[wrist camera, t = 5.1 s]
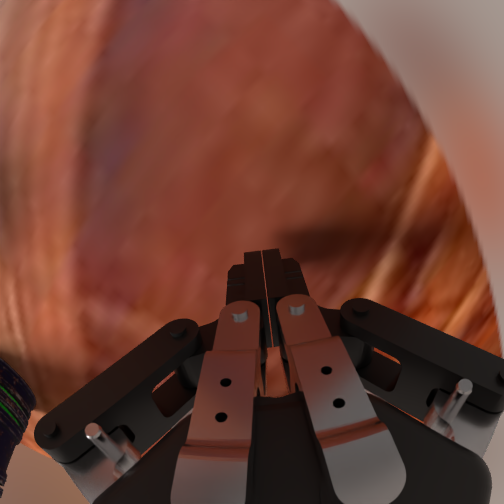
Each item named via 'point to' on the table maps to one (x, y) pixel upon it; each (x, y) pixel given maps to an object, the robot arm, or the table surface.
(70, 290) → the table surface
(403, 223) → the table surface
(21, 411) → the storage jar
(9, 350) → the table surface
